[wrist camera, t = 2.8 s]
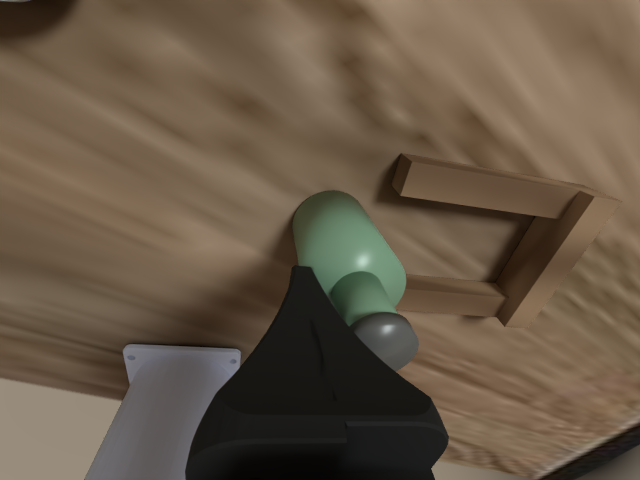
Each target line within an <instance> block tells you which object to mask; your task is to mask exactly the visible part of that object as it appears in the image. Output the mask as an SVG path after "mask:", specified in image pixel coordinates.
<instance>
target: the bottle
mask: <svg viewBox="0 0 640 480" xmlns="http://www.w3.org/2000/svg"><path fill="white" fill-rule="evenodd" d="M292 230H293V236H294V241H295V247H296V253H297V258H298V264H299V266H307V267H311V268H312V269H313V272H314V274H315V275H316V277H317V279H318V281H319V283H320V285H321V286H322V288H323V290H324V292H325V293H326V295H327V296H328V298H329V300H330V301H331V303H332V304H333V306H334V307H335V309H336V310H337V311H338V313H339V314H340V316H341V317H342V318H343V320H344V321H345V322H346V323H347V325H348V326H349V327H350V328H351V330H352V331H353V332H354V333H355V334H356V335H357V336H358V338H359V339H360V340H361V341H362V342H363V343H364V344H365V345H366V346H367V347H368V348H369V349H370V350H371V351H372V352H373V353H375V354H376V355H377V356H378V357H379V358H380V359H381V360H382V361H383V362H384V363H385V364H387V365H388V366H389V367H390V368H391V369H393V370H394V371H397V370H399V369H401V368H402V367H404V366H405V365H406V364H408V363H409V362H410V361H411V360H412V358H413V357H414V356H415V354H416V352H417V350H418V346H419V341H418V338H417V336H416V334H415V332H414V330H413V329H412V327H411V325H410V323H409V322H408V320H407V319H406V318H405V317H403V316H402V315H400V314H398V313H397V311H396V309H395V308H394V307H395V306H396V305H397V304H398V302H399V301H400V299H401V298H402V296H403V293H404V291H405V287H406V274H405V270H404V268H403V266H402V264H401V263H400V261H399V260H398V258H397V257H396V256H395V254H394V253H393V251H392V250H391V248H390V247H389V245H388V244H387V242H386V241H385V240H384V238H383V237H382V235H381V234H380V232H379V231H378V229H377V228H376V226H375V225H374V224H373V222H372V221H371V219H370V218H369V216H368V215H367V213H366V212H365V210H364V209H363V207H362V206H361V205H360V203H359V202H358V201H357V200H356V199H355V198H354V197H352V196H351V195H349V194H347V193H344V192H341V191H324V192H320V193H317V194H315V195H313V196H311V197H309V198H308V199H307V200H305V201H304V202H303V203H302V204H301V205H300V207H299V208H298V210H297V211H296V213H295V216H294V219H293V224H292Z"/></svg>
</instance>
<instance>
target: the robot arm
mask: <svg viewBox="0 0 640 480" xmlns="http://www.w3.org/2000/svg"><path fill="white" fill-rule="evenodd" d="M123 356H124V360H125V365H126V370H127V374H128V379H129V384H130V387H129V389H128V391H127V393H126V395H125V397H124V399H123V401H122V403H121V405H120V407H119V409H118V412H117V414H116V416H115V418H114V420H113V422H112V424H111V426H110V428H109V430H108V432H107V434H106V436H105V438H104V440H103V442H102V444H101V446H100V448H99V450H98V452H97V454H96V456H95V459H94V461H93V463H92V465H91V467H90V469H89V471H88V473H87V475H86V477H85V479H84V480H435V478H434V475H433V473H432V470H431V468H432V466H433V465H434V464H435V463H436V461H437V460H438V459H439V458H440V456H441V455H442V454H443V452H444V451H445V449H446V447H447V445H448V439H449V436H448V434H447V431H446V429H445V427H444V424H443V422H442V420H441V417H440V415H439V413H438V411H437V409H436V407H435V405H434V404H433V402H432V400H431V398H430V397H429V396H427V395H426V394H425V393H423V392H422V391H421V390H419V389H418V388H416V387H415V386H414V385H412V384H411V383H409V382H408V381H407V380H405V379H404V378H403V377H401V376H400V375H399V374H398V373H396V372H395V371H394V370H393V369H391V368H390V367H389V366H388V365H387V364H385V363H384V362H383V361H382V360H381V359H380V358H379V357H378V356H377V355H376V354H375V353H373V352H372V351H371V350H370V349H369V348H368V347H367V346H366V345H365V344H364V343H363V342H362V341H361V340H360V339H359V338H358V336H357V335H356V334H355V333H354V332H353V331H352V330H351V328H350V327H349V326H348V325H347V323H346V322H345V321H344V320H343V318H342V317H341V316H340V314H339V313H338V311H337V310H336V309H335V307H334V306H333V304H332V303H331V301H330V300H329V298H328V296H327V295H326V293H325V292H324V290H323V288H322V286H321V285H320V283H319V281H318V279H317V277H316V275H315V274H314V272H313V269H312V268H311V267H307V266H297V265H295V266H294V267H292V271H291V277H290V283H289V288H288V291H287V293H286V296H285V298H284V301H283V303H282V305H281V307H280V309H279V311H278V313H277V315H276V317H275V319H274V320H273V322H272V324H271V325H270V327H269V329H268V330H267V332H266V333H265V335H264V336H263V338H262V339H261V341H260V342H259V344H258V345H257V346H256V348H255V349H254V350H253V352H252V353H251V354H250V356H249V357H248V358H247V359H246V360H245V362H244V363H243V364H242V365H241V367H240V359H241V352H240V351H239V350H238V349H231V348H209V347H186V346H164V345H142V344H128V345H126V346H125V348H124V349H123Z"/></svg>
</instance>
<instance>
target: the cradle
mask: <svg viewBox="0 0 640 480" xmlns="http://www.w3.org/2000/svg"><path fill="white" fill-rule="evenodd" d="M391 185H392V187H393V188H394V189H395V190H396V191H397V192H398V193H399V195H400V196H405V197H412V198H419V199H426V200H433V201H439V202H446V203H453V204H460V205H466V206H473V207H480V208H487V209H493V210H500V211H507V212H514V213H520V214H527V215H534V216H536V217H535V218H534V220H533V221H532V223H531V225H530V226H529V228H528V230H527V231H526V233H525V235H524V236H523V238H522V240H521V241H520V243H519V245H518V246H517V248H516V250H515V251H514V253H513V254H512V256H511V258H510V259H509V261H508V263H507V264H506V266H505V268H504V269H503V271H502V273H501V274H500V276H499V278H498V279H497V281H496V282H495V283H490V282H480V281H469V280H459V279H449V278H439V277H428V276H418V275H408V274H406V287H405V291H404V293H403V296H402V298H401V299H400V301H399V302H398V304H397V305H396V306H395V307H394V308H395V309H396V310H406V311H420V312H433V313H447V314H460V315H474V316H487V317H497V318H498V319H499V321H500V322H501V323H502V324H503V325H504V327H514V328H528V327H529V326H530V324H531V323H532V322H533V320H534V319H535V318H536V316H537V315H538V314H539V312H540V311H541V310H542V308H543V307H544V305H545V304H546V303H547V301H548V300H549V299H550V297H551V296H552V295H553V293H554V292H555V291H556V289H557V288H558V287H559V285H560V284H561V283H562V281H563V280H564V279H565V277H566V276H567V275H568V273H569V272H570V271H571V269H572V268H573V267H574V265H575V264H576V263H577V261H578V260H579V259H580V257H581V256H582V255H583V253H584V252H585V251H586V249H587V248H588V247H589V245H590V244H591V243H592V241H593V240H594V239H595V237H596V236H597V235H598V233H599V232H600V231H601V229H602V228H603V227H604V225H605V224H606V223H607V221H608V220H609V218H610V217H611V216H612V214H613V213H614V212H615V210H616V209H617V208H618V206H619V205H620V204H621V202H622V201H620V200H618V199H615V198H613V197H610V196H608V195H606V194H603V193H601V192H598V191H596V190H593V189H591V188H588V187H586V186H583V185H579V184H574V183H568V182H562V181H557V180H551V179H545V178H539V177H534V176H528V175H522V174H517V173H511V172H505V171H500V170H494V169H488V168H482V167H477V166H471V165H465V164H460V163H454V162H448V161H442V160H437V159H431V158H425V157H420V156H414V155H408V154H403V153H401V156H400V159H399V162H398V165H397V168H396V171H395V175H394V178H393V181H392V184H391Z"/></svg>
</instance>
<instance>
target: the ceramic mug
mask: <svg viewBox="0 0 640 480" xmlns="http://www.w3.org/2000/svg"><path fill="white" fill-rule="evenodd" d="M0 1H8V2H25V1H31V0H0Z"/></svg>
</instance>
